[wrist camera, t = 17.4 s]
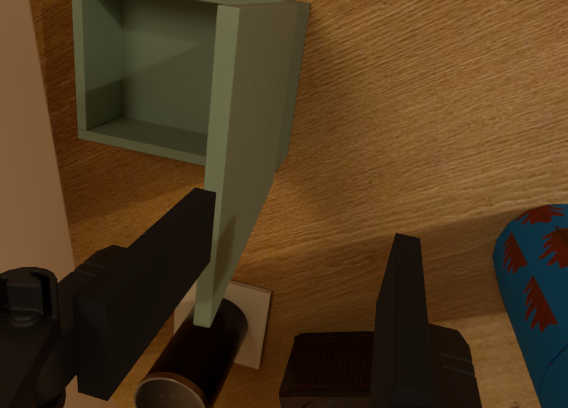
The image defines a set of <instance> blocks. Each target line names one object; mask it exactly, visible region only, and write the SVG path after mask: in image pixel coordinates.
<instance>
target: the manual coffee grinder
mask: <svg viewBox="0 0 568 408" xmlns="http://www.w3.org/2000/svg"><path fill="white" fill-rule="evenodd" d="M373 345H374V332H332V333H305V334H301V335H298V336H295V337H294V344H293V348H292V351H291V354H290V358H289V361H288V364H287V367H286V370H285V374H284V377H283V380H282V383H281V387H280V390H279V399H280V403H281V408H369V400H370V386H371V372H372V359H373Z"/></svg>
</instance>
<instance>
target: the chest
mask: <svg viewBox="0 0 568 408" xmlns="http://www.w3.org/2000/svg"><path fill="white" fill-rule="evenodd" d="M272 2H293V3H298V11H297V18H296V25H295V32H294V39H293V46H292V53H291V60H290V67H289V74H288V81H287V88H286V95H285V102H284V109H283V116H282V123H281V130H280V137H279V144H278V151H277V158H276V165H275V172H276V171H277V169H278V168H279V167H280V165H281V164H282V163H283V161H284V160H285V158H286V157H287V154H288V147H289V141H290V134H291V128H292V121H293V115H294V108H295V102H296V95H297V88H298V82H299V75H300V69H301V62H302V56H303V49H304V42H305V36H306V29H307V23H308V16H309V10H310V3H306V2H300V1H294V0H72V16H73V38H74V60H75V82H76V104H77V126H78V138H79V139H84V140H88V141H93V142H97V143H102V144H106V145H111V146H115V147H120V148H125V149H129V150H134V151H138V152H143V153H147V154H152V155H157V156H161V157H166V158H170V159H175V160H179V161H184V162H189V163H193V164H198V165H202V166H205V163H206V150H207V137H208V124H209V110H210V97H211V84H212V70H213V57H214V44H215V31H216V17H217V6H218V5H223V4H247V3H272ZM275 172H274V173H275Z"/></svg>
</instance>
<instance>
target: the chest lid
mask: <svg viewBox="0 0 568 408" xmlns="http://www.w3.org/2000/svg"><path fill="white" fill-rule="evenodd" d="M297 11H298V3H293V2H272V3H247V4H223V5H218V6H217V17H216V31H215V44H214V57H213V70H212V84H211V97H210V110H209V124H208V137H207V150H206V163H205V177H204V190H208V191H213V192H216V202H215V214H214V225H213V236H212V248H211V259H210V263H209V264H208V265H207V267H206V268H205V269H204V271H203V272H202V273H201V275H200V276H199V278H198V279H197V283H196V296H195V309H194V325H198V326H203V327H208V328H209V327H210V326H211V324H212V321H213V319H214V317H215V314H216V312H217V310H218V308H219V305H220V303H221V301H222V298H223V296H224V294H225V292H226V289H227V287H228V285H229V282H230V280H231V278H232V276H233V273H234V271H235V269H236V266H237V264H238V262H239V260H240V257H241V255H242V253H243V250H244V248H245V246H246V244H247V241H248V239H249V237H250V234H251V232H252V230H253V228H254V225H255V223H256V221H257V218H258V216H259V214H260V212H261V209H262V207H263V205H264V202H265V200H266V198H267V195H268V193H269V191H270V189H271V186H272V184H273V179H274V172H275V165H276V158H277V151H278V144H279V137H280V130H281V123H282V116H283V109H284V102H285V95H286V88H287V81H288V74H289V67H290V60H291V53H292V46H293V39H294V32H295V25H296V18H297Z"/></svg>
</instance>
